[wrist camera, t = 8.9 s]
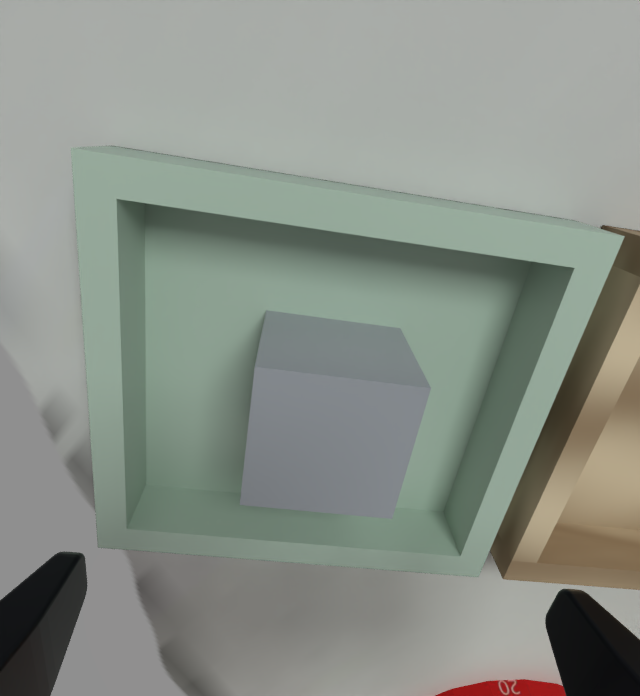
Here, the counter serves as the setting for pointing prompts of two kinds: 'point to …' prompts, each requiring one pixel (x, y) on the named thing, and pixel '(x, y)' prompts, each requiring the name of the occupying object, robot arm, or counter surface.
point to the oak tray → (586, 455)
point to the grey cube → (331, 416)
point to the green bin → (318, 301)
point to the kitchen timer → (508, 689)
